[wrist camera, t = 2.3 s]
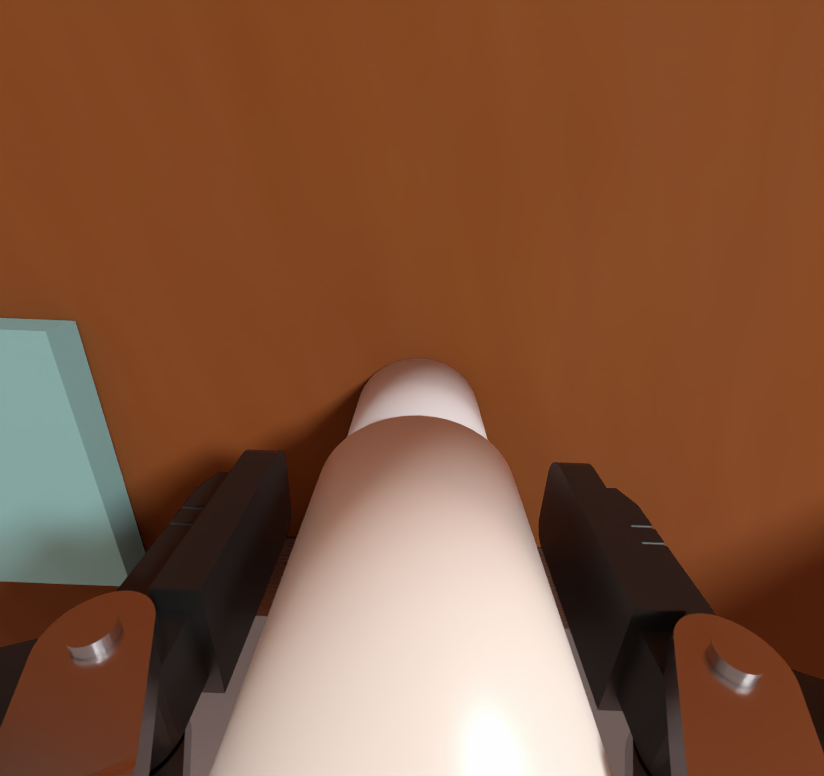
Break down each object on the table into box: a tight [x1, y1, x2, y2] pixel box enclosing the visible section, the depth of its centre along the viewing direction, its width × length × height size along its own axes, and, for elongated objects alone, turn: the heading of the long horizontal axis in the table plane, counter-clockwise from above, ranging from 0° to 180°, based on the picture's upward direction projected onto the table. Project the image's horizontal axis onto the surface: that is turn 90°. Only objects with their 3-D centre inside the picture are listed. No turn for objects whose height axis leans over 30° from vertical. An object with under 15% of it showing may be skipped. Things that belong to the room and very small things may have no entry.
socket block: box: [190, 538, 630, 776], centre depth 16 cm, size 16×14×3 cm
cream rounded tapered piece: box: [209, 358, 613, 776], centre depth 8 cm, size 4×4×10 cm
